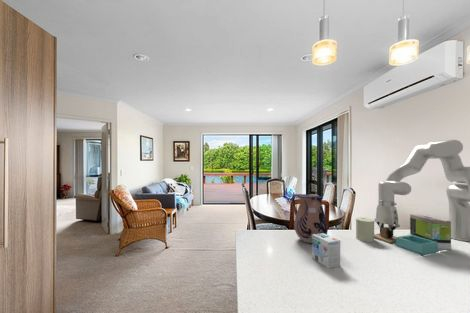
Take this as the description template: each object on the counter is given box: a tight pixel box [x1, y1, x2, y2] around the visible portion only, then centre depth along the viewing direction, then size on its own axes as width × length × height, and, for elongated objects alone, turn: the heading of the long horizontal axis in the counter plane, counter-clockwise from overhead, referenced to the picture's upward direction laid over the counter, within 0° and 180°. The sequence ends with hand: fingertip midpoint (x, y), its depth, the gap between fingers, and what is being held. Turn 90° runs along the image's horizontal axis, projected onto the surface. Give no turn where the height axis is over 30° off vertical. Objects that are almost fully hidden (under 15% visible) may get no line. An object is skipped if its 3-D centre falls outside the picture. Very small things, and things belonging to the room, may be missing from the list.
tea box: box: [409, 213, 452, 251], centre depth 120 cm, size 15×10×15 cm
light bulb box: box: [311, 233, 341, 269], centre depth 98 cm, size 11×7×11 cm, turn 19°
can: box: [355, 217, 375, 243], centre depth 126 cm, size 9×9×12 cm
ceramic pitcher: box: [290, 193, 329, 244], centre depth 125 cm, size 18×21×25 cm
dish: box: [395, 234, 439, 257], centre depth 113 cm, size 12×12×5 cm
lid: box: [374, 226, 397, 244], centre depth 127 cm, size 12×12×6 cm
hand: (386, 235), depth 127 cm, fingers open, 3 cm apart
